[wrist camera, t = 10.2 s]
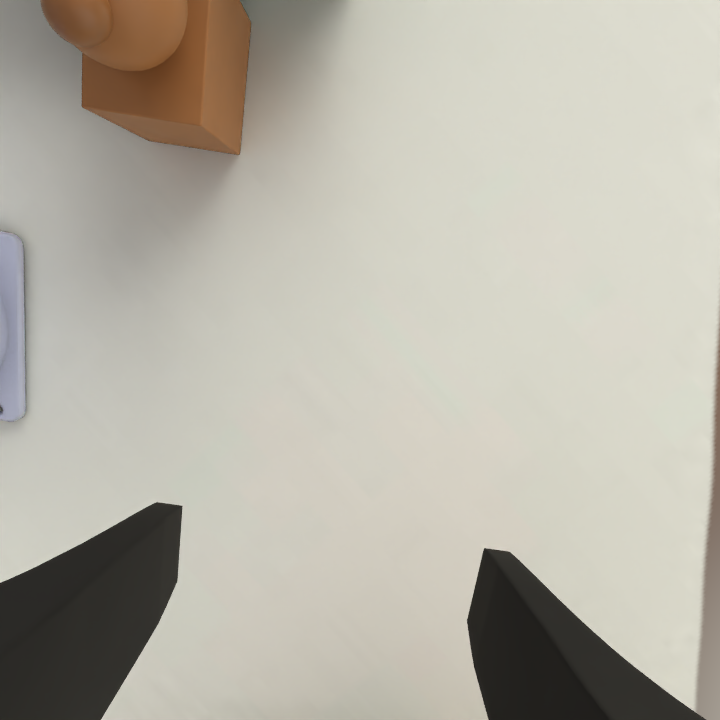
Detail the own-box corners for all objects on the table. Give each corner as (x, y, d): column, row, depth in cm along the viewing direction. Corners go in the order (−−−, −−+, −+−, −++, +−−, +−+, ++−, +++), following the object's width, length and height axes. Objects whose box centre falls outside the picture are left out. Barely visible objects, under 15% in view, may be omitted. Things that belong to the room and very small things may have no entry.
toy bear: (147, 140, 18) (-26, 53, 10) (154, -8, 17) (-36, -238, 9) (240, 155, 18) (140, 80, 10) (252, 8, 17) (152, -206, 9)
